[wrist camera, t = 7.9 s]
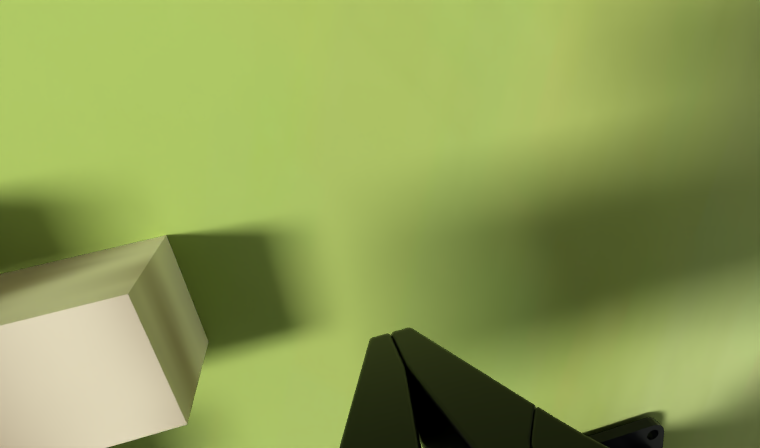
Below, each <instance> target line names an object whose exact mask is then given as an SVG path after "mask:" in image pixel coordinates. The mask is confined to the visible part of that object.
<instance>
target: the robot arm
mask: <svg viewBox="0 0 760 448" xmlns="http://www.w3.org/2000/svg"><path fill="white" fill-rule="evenodd" d="M663 437H664V428H663V427H662V426H661V425H660V424H659V423H658V422H657V421H656V420H655V419H654V418H651V417H649V418H644V419H641V420H638V421H635V422H632V423H629V424H625V425H622V426H619V427H616V428H613V429H610V430H607V431H604V432H600V433H597V434H594V435H591V436H586V435H584V434H582V433H580V432H579V431H577V430H575V429H574V428H572V427H570V426H569V425H567V424H565V423H563V422H562V421H560V420H558V419H557V418H555V417H553V416H552V415H550V414H549V413H547V412H545V411H544V410H542V409H541V408H539V407H537V408H536V407H535V405H534V404H532V403H531V402H529V401H527V400H526V399H524V398H523V397H521V396H519V395H518V394H516V393H515V392H513V391H511V390H510V389H508V388H507V387H505V386H503V385H502V384H500V383H499V382H497V381H495V380H494V379H492V378H491V377H489V376H487V375H486V374H484V373H483V372H481V371H479V370H478V369H476V368H475V367H473V366H471V365H470V364H468V363H467V362H465V361H463V360H462V359H460V358H459V357H457V356H455V355H454V354H452V353H451V352H449V351H447V350H446V349H444V348H443V347H441V346H439V345H438V344H436V343H435V342H433V341H431V340H430V339H428V338H427V337H425V336H423V335H422V334H420V333H419V332H417V331H415V330H414V329H412V328H405V329H402V330H398V331H395V332H393V333H392V334H391V335H390V334H384V335H380V336H376V337H373V338H371V339H370V341H369V344H368V347H367V351H366V355H365V358H364V362H363V365H362V369H361V372H360V376H359V380H358V383H357V387H356V390H355V394H354V398H353V401H352V405H351V408H350V412H349V415H348V419H347V423H346V426H345V430H344V433H343V437H342V440H341V444H340V448H421V445H422V447H423V448H663ZM420 442H421V443H420Z"/></svg>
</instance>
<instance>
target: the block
mask: <svg viewBox="0 0 760 448" xmlns="http://www.w3.org/2000/svg"><path fill="white" fill-rule="evenodd" d="M207 346H208V339H207V337H206V334H205V332H204V329H203V327H202V324H201V321H200V319H199V316H198V314H197V311H196V309H195V306H194V304H193V301H192V299H191V296H190V294H189V291H188V289H187V286H186V283H185V281H184V278H183V276H182V273H181V271H180V268H179V266H178V263H177V261H176V258H175V256H174V253H173V250H172V248H171V245H170V243H169V240H168V238H167V235H164V236H160V237H156V238H152V239H147V240H143V241H139V242H135V243H130V244H126V245H122V246H118V247H113V248H109V249H105V250H101V251H96V252H92V253H88V254H84V255H79V256H75V257H71V258H67V259H62V260H58V261H54V262H50V263H45V264H41V265H37V266H33V267H28V268H24V269H20V270H16V271H11V272H7V273H3V274H0V448H107V447H111V446H114V445H118V444H121V443H125V442H128V441H132V440H135V439H139V438H142V437H146V436H149V435H153V434H156V433H160V432H163V431H167V430H170V429H173V428H177V427H180V426H184V425H187V423H188V419H189V416H190V412H191V408H192V404H193V400H194V396H195V392H196V388H197V385H198V381H199V377H200V373H201V369H202V365H203V361H204V358H205V354H206V350H207Z"/></svg>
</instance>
